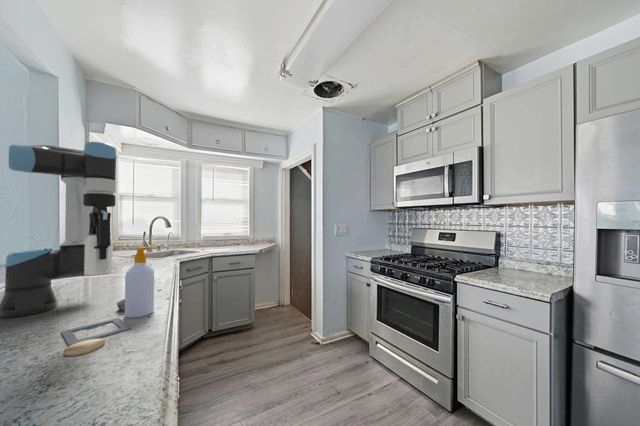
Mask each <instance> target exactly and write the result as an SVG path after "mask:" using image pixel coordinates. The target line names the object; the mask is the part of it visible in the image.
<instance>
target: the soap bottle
mask: <svg viewBox="0 0 640 426" xmlns="http://www.w3.org/2000/svg"><path fill="white" fill-rule="evenodd" d="M151 249H153V250H156V249H157V247H154V246H152V247H151V246H150V247H148V246H147V247H136V254H135V255H134V263H133V265H131V266H130V267H129V268H128V269H127V271H126V273H125V277H124V281H125V282H124V283H125V284H124V285H125V286H124V299H125V311H124V316H125V317H126V318H130V319H132V318H134V319H135V318H140V317H145V316H149V315H150V314H152V313H153V312H154V310H155V270H154V268H153V267H152V266H151V265H150V264H148V263H147V255H146V254H145V250H151Z"/></svg>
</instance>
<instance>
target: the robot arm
mask: <svg viewBox="0 0 640 426" xmlns="http://www.w3.org/2000/svg"><path fill="white" fill-rule="evenodd" d="M117 159H118V157H117V148H116V147H115V146H114V145H112V144H110V143H106V142H100V141H88V142H85V144H84V149H83V150H82V149H77V148H76V149H75V148H70V147H69V148H68V147H62V146H55V145H48V144H31V145H21V144H11V145H9V147H8V168H9V169H10V170H11V171H15V172H23V173H31V174H32V173H33V174H45V175H54V176H60V181H62V182H63V183H64V184H65V209H64V210H65V214H64V215H65V221H64V223H65V225H64V227H65V228H64V229H65V232H64V241H63V242H62V243H61V244H59V249H55V250H54V249H53V248H52V246H44V247H36V248H29V249H23V250H18V251H13V252H10V253H8V255H7V256H6V258H5V259H6V260H5V265H4V268H5V283H4V295H3V296H2V299H1V300H0V318H1V319H6V318H7V319H8V318H9V319H10V318H19V317H24V316H25V317H26V316H31V315H36V314H38V313H45V312H47V311H50V310H52V309H55V308H56V307H57V306H58V299H57V296H56V294H55V292H54V289H53V288H52V280H54V281H55V280H60V279H61V280H62V279H70V278H79V277H86V275H85V274H84V256H85V239H86V238H87V235H90V234H96V238H97V246H95V247H94V249H96V264H95V271H102V270H108V247H109V246H110V245H111V243H110V234H111V216H112V213H111V212H108V208H113V207H115V206H116V196H115V195H116V191H117V180H116V178H117V177H116V174H117V173H116V172H117V168H116V167H117Z"/></svg>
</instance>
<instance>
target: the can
mask: <svg viewBox="0 0 640 426" xmlns="http://www.w3.org/2000/svg"><path fill="white" fill-rule="evenodd" d="M110 243H111V245H110V246H109V247H108V270H102V271H95V264H96V249H94V247H95V246H97V238H96V234H90V235H87V238H86V239H85V256H84V274H85V275H86V276H87V277H88V276H89V277H93V276H105V275H109V274H111V273H112V272H113V249H114V248H113V244H114V243H113V238H112V236H111V233H110ZM86 276H85V277H86Z"/></svg>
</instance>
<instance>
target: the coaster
mask: <svg viewBox="0 0 640 426" xmlns="http://www.w3.org/2000/svg"><path fill="white" fill-rule="evenodd" d="M105 343H106V341H105V339H103V338H98V339H90V340H85V341H81V342H78V343H75V344H73V345H71V346H67V347H65V349H63V355H64V356H65V357H67V356H68V357H69V356H70V357H73V356H80V355H81V356H82V355H84V354H88V353H91V352H94V351H96V350H99V349H101V348H102V347H103V346H105Z"/></svg>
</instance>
